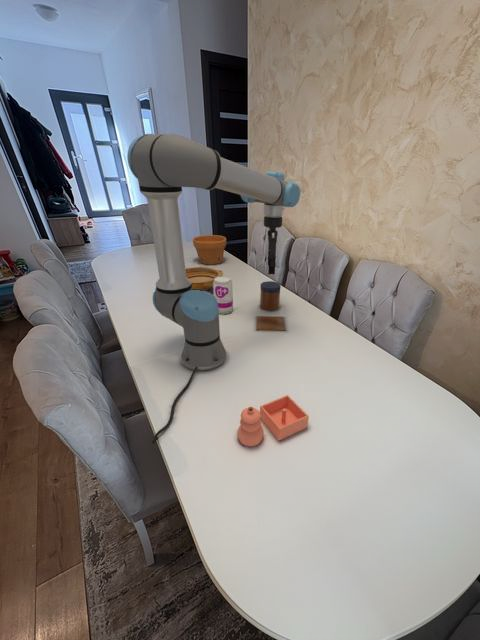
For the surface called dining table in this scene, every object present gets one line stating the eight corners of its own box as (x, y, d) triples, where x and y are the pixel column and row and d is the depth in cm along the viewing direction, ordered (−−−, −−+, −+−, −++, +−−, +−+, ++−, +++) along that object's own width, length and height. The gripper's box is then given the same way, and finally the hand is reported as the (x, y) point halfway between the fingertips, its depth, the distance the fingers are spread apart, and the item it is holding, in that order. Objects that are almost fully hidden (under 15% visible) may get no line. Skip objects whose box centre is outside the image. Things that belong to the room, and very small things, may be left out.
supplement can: (230, 315, 136) (229, 283, 128) (212, 313, 138) (210, 281, 129) (235, 307, 143) (234, 276, 135) (218, 306, 144) (216, 275, 136)
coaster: (285, 330, 126) (285, 329, 125) (256, 330, 125) (256, 329, 125) (283, 317, 136) (283, 316, 135) (256, 317, 136) (256, 316, 135)
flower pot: (187, 262, 200) (185, 238, 192) (210, 255, 214) (208, 233, 206) (212, 268, 190) (210, 244, 182) (233, 260, 205) (232, 237, 197)
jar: (279, 311, 141) (280, 289, 135) (260, 310, 141) (260, 289, 135) (278, 303, 149) (279, 282, 143) (260, 302, 149) (260, 282, 143)
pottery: (286, 405, 88) (289, 379, 83) (307, 427, 82) (311, 399, 76) (230, 429, 80) (229, 401, 75) (248, 455, 74) (248, 426, 68)
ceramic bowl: (183, 303, 146) (181, 287, 142) (162, 287, 162) (160, 273, 158) (234, 289, 162) (234, 275, 158) (211, 276, 178) (210, 263, 173)
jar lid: (280, 292, 136) (281, 288, 135) (260, 292, 136) (260, 288, 135) (279, 285, 144) (280, 281, 143) (260, 284, 144) (260, 281, 143)
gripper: (284, 221, 113) (281, 278, 125) (280, 211, 133) (278, 261, 145) (264, 221, 113) (262, 278, 125) (263, 211, 133) (262, 261, 145)
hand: (271, 269), depth 135 cm, fingers open, 11 cm apart
